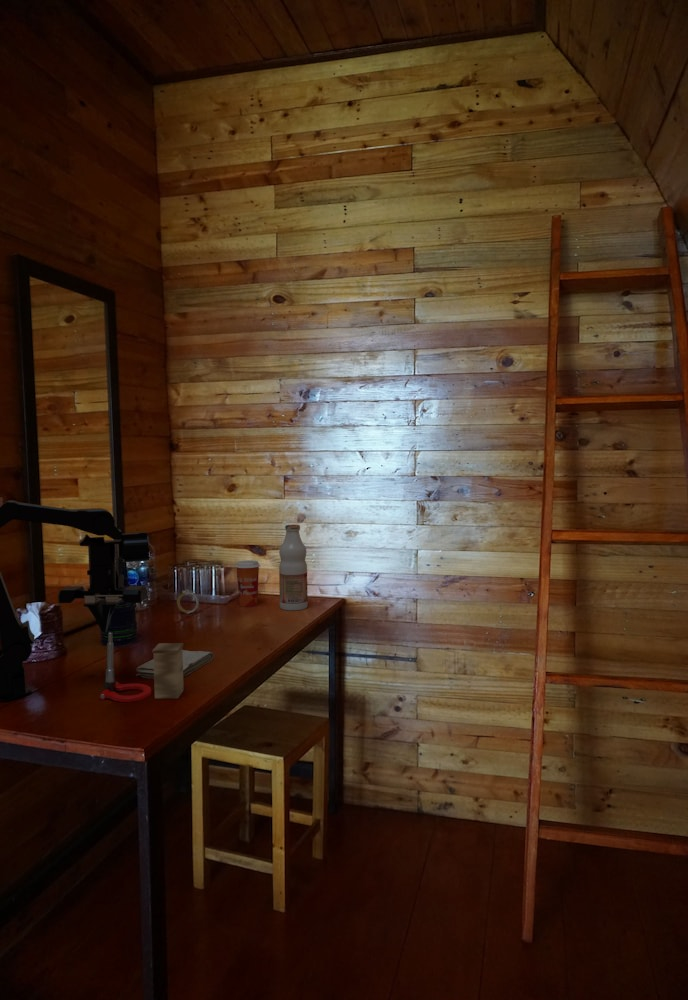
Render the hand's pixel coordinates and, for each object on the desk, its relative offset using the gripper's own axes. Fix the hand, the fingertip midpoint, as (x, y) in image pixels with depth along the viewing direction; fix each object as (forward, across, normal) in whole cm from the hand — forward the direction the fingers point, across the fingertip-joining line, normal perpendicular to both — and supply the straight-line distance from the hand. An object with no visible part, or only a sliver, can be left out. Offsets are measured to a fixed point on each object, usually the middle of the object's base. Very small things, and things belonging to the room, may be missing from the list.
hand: (104, 631), depth 156 cm
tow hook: (+12, -8, +8) cm, 16 cm away
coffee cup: (+12, -22, -78) cm, 82 cm away
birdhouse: (+12, -17, +6) cm, 21 cm away
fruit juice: (+12, -38, -73) cm, 83 cm away
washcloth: (+13, -13, -11) cm, 21 cm away
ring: (+12, -4, -66) cm, 67 cm away
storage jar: (+12, +8, -34) cm, 37 cm away
